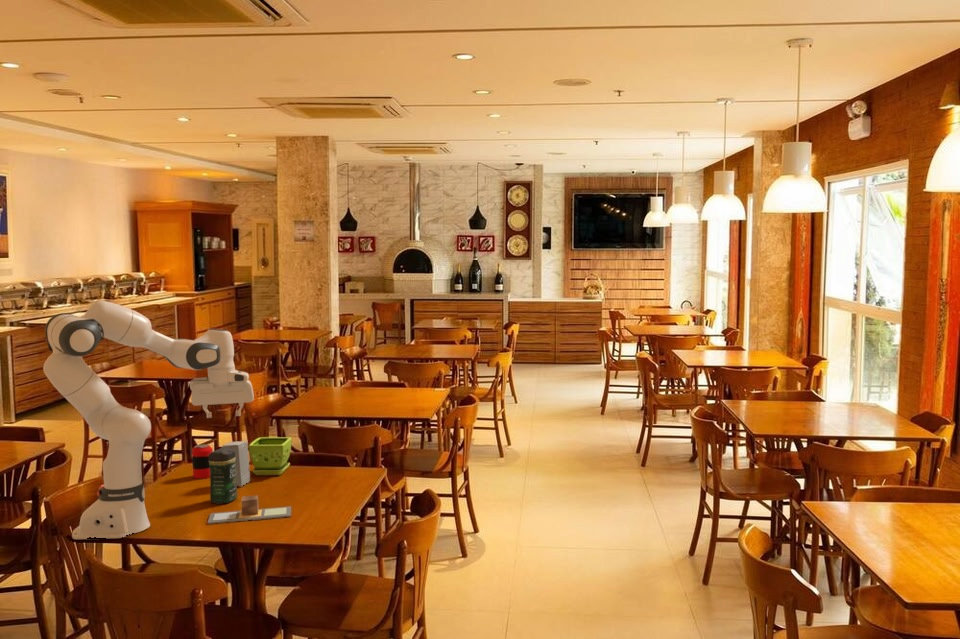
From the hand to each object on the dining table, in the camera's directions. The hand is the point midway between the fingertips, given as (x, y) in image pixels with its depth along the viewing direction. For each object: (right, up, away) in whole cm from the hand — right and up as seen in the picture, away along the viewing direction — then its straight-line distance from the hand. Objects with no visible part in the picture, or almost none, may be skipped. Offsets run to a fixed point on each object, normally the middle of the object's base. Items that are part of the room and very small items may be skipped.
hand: (223, 416), depth 285 cm
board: (+11, -32, -9) cm, 35 cm away
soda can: (-21, -29, +44) cm, 56 cm away
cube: (+11, -31, -8) cm, 34 cm away
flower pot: (+5, -28, +47) cm, 55 cm away
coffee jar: (-3, -31, +10) cm, 32 cm away
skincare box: (-4, -29, +31) cm, 43 cm away
